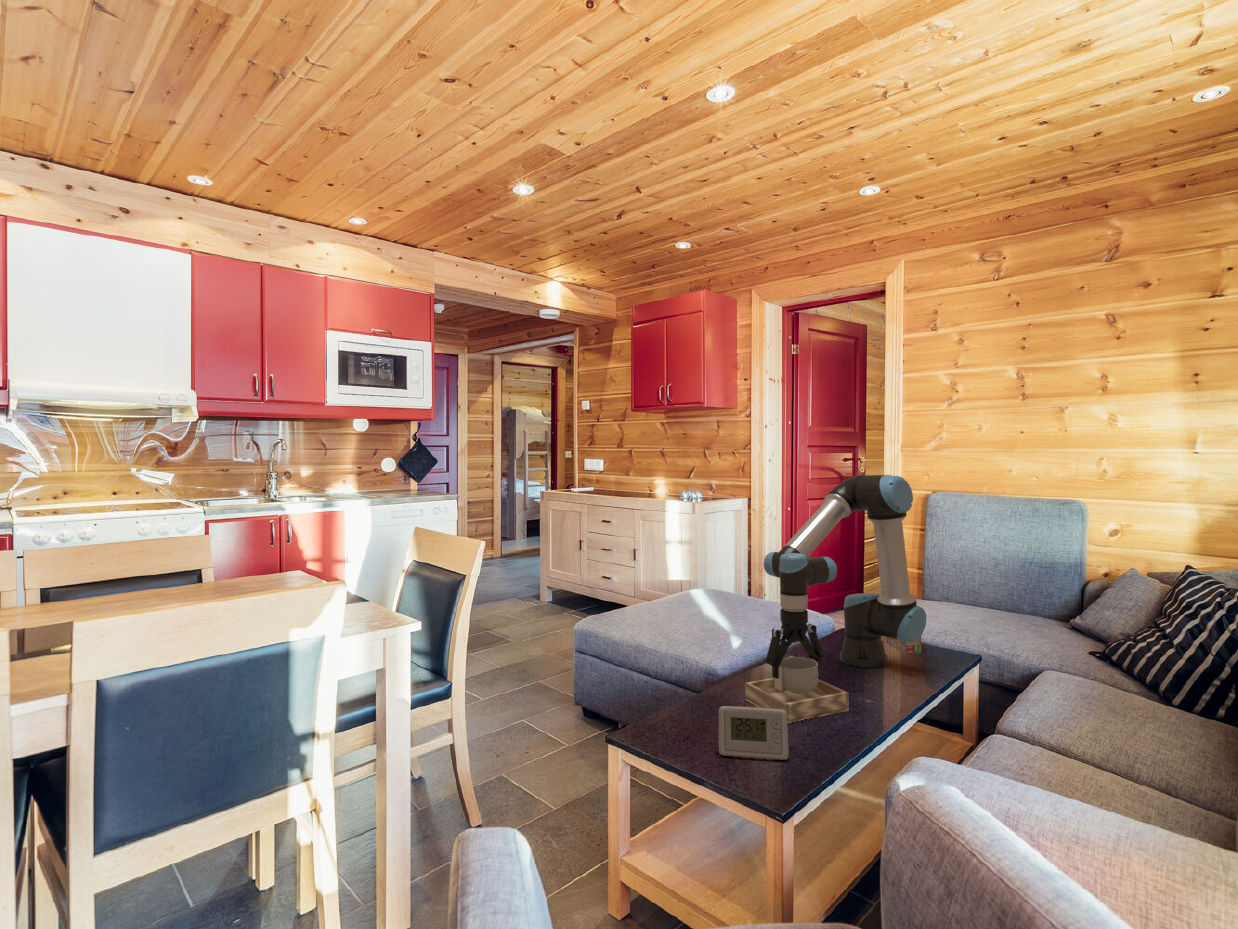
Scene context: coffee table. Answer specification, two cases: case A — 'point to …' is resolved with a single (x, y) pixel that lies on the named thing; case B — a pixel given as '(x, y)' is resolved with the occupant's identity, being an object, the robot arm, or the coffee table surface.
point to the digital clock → (753, 732)
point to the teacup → (799, 674)
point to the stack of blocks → (904, 645)
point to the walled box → (798, 699)
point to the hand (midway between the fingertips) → (795, 686)
